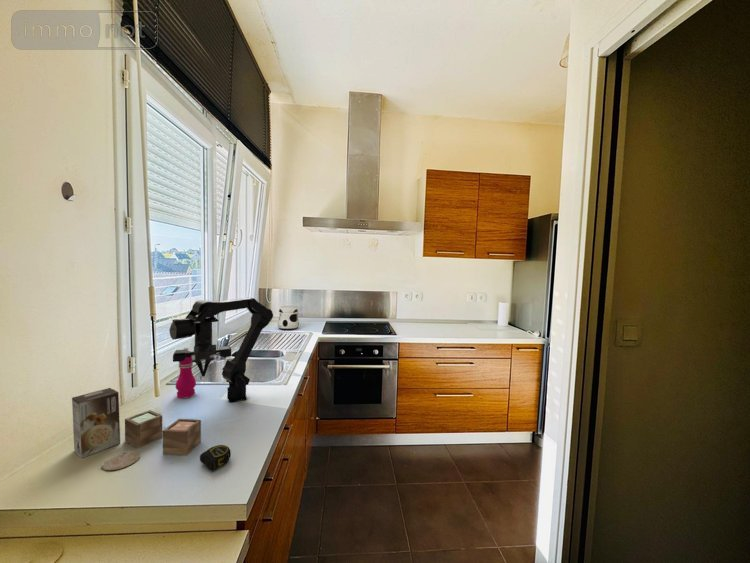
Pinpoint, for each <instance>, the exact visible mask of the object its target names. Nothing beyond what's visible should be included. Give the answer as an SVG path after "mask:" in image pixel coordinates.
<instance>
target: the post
mask: <svg viewBox="0 0 750 563" xmlns="http://www.w3.org/2000/svg"><path fill="white" fill-rule="evenodd" d="M147 413H149V414H152V415H154V416H156V417H154V418H151V419H149V420H146V421H144V422H141V423H137V422H135V421H133V420H131V419H133V418H136V417H139V416H141V415H144V414H147ZM160 438H163V415H162V414H161V413H158V412H156V411H154V410H151V409H148V410H146V411H143V412H141V413H137V414H135V415H131V416H130V417H126V418H125V419H124V442H125V443H128V444H129V445H131V446H133V447H135V448H137V449H139V448H141V447H143V446H146V445H148V444H150V443H152V442H155V441H156V440H159V439H160Z"/></svg>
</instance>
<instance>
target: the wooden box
mask: <svg viewBox="0 0 750 563" xmlns="http://www.w3.org/2000/svg"><path fill="white" fill-rule="evenodd" d="M180 421H182V422H195V423H194V424H193V425H191V426H190V427H189V428H188V429H187V430H169V429H171V428H172V427H173V426H175V425H176V424H177V423H178V422H180ZM200 443H202V420H201V419H193V418H191V419H190V418H178V419H176V420H175V421H174V422H173V423H171V424H170V425H168V426H167V427H166V428H164V429H162V455H170V456H185V457H186V456H188V455H189V454H190V453H191V452H192V451H193V450H194V449H195V448H196V447H197V446H198V445H199V444H200Z"/></svg>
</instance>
